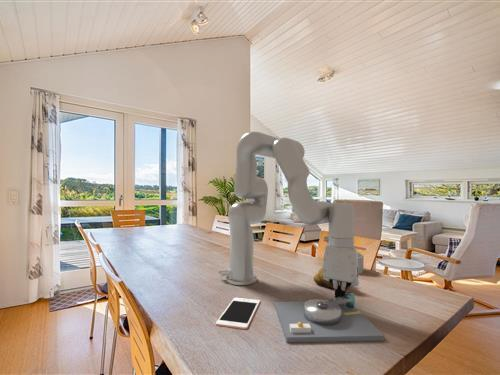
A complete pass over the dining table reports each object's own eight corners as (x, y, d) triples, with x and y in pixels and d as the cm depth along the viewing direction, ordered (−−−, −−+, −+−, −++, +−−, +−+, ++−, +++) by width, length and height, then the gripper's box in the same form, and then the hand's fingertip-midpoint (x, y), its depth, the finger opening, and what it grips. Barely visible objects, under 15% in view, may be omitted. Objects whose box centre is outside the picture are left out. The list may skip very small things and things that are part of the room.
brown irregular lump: (310, 285, 101) (310, 265, 101) (318, 278, 109) (318, 259, 109) (345, 292, 94) (345, 270, 94) (350, 284, 103) (350, 264, 103)
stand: (286, 342, 63) (286, 328, 63) (274, 305, 83) (274, 295, 83) (383, 340, 64) (384, 327, 64) (348, 304, 84) (348, 294, 84)
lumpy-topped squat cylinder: (361, 275, 114) (361, 255, 115) (330, 270, 121) (330, 251, 121) (364, 269, 123) (364, 250, 123) (335, 265, 130) (336, 247, 130)
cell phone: (260, 302, 86) (260, 299, 86) (246, 331, 68) (246, 327, 68) (234, 300, 88) (234, 297, 88) (215, 326, 70) (215, 323, 70)
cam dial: (321, 328, 66) (321, 312, 67) (296, 312, 75) (296, 297, 75) (367, 314, 74) (367, 300, 74) (340, 301, 83) (340, 288, 83)
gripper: (313, 241, 83) (312, 299, 82) (364, 247, 74) (363, 312, 74) (321, 238, 89) (320, 292, 89) (369, 243, 80) (368, 303, 80)
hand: (340, 301), depth 81 cm, fingers closed
